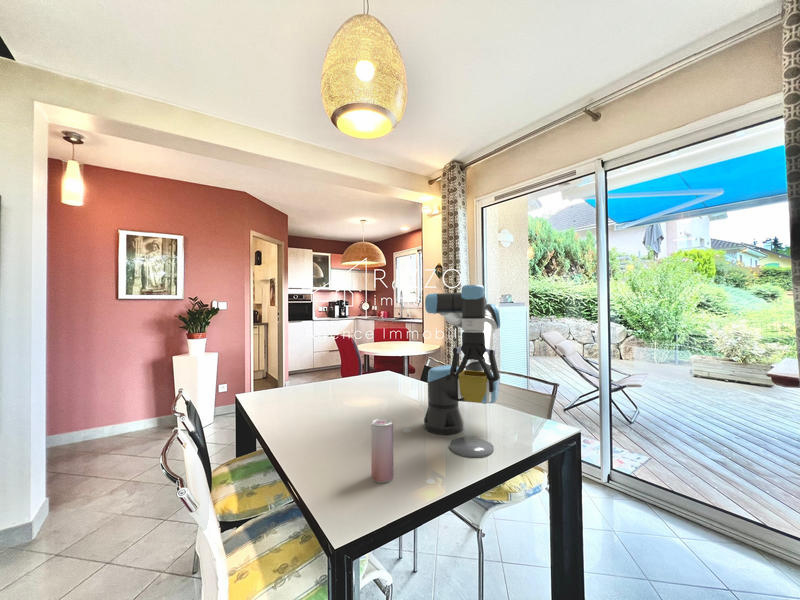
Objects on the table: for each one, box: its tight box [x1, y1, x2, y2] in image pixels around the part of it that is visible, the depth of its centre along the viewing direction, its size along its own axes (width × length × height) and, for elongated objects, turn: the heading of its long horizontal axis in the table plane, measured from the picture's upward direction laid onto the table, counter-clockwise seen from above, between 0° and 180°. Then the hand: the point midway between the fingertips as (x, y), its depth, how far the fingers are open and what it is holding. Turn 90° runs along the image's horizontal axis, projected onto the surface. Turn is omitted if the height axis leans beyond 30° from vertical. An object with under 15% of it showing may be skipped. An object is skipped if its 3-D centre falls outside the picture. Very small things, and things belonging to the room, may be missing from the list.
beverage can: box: [370, 417, 395, 484], centre depth 87 cm, size 6×6×15 cm
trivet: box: [449, 436, 495, 459], centre depth 105 cm, size 14×14×1 cm
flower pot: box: [459, 369, 488, 404], centre depth 106 cm, size 9×9×9 cm
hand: (474, 399), depth 106 cm, fingers closed on flower pot, 9 cm apart
